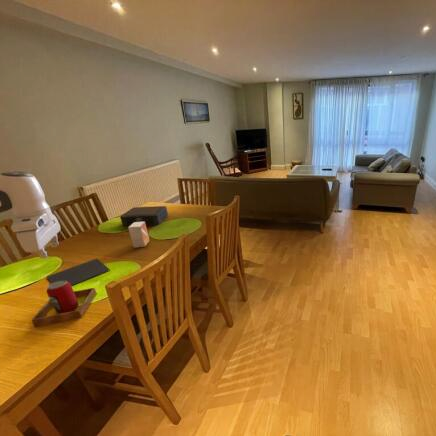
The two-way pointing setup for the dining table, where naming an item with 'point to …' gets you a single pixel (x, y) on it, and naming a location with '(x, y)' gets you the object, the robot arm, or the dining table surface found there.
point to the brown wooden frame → (42, 320)
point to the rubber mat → (80, 272)
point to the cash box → (145, 215)
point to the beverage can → (62, 296)
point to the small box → (139, 234)
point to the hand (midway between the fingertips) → (50, 251)
